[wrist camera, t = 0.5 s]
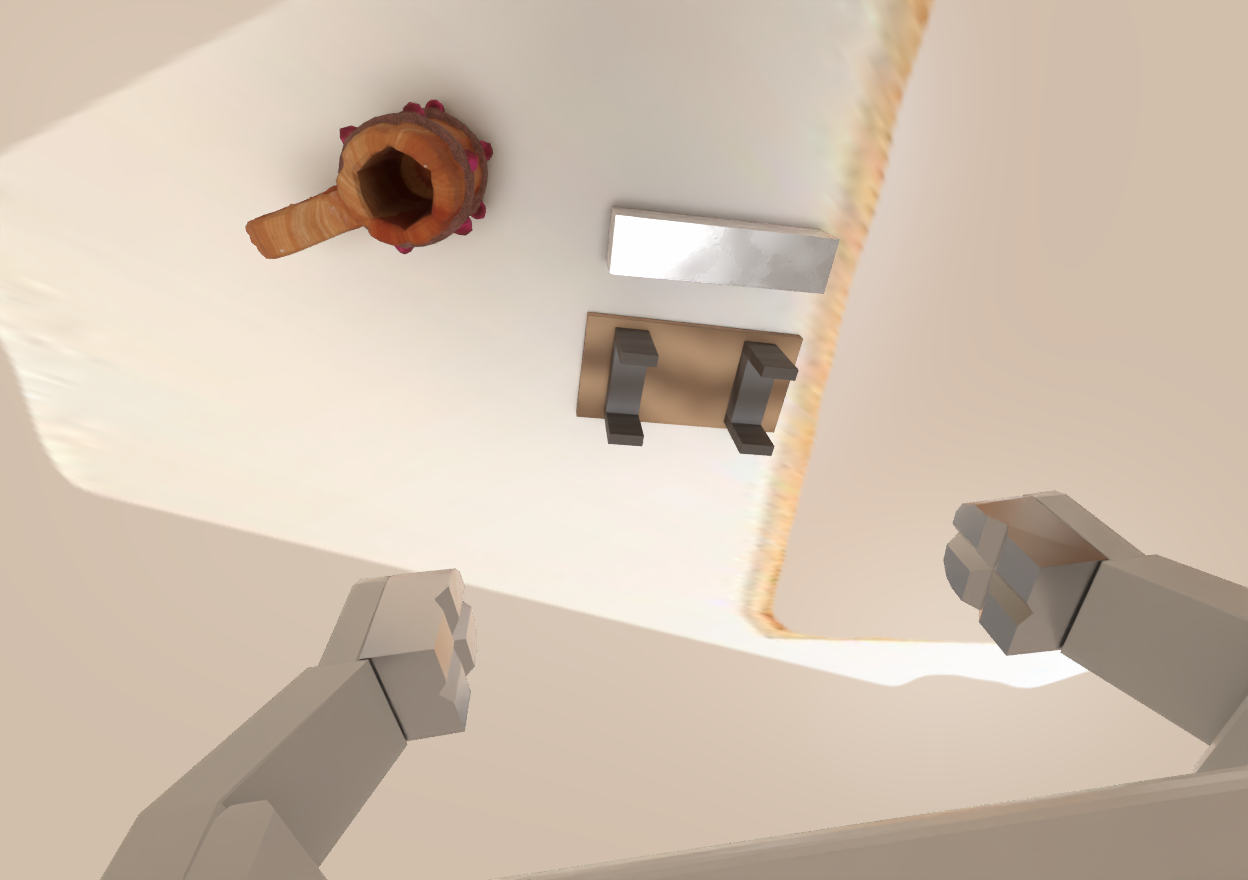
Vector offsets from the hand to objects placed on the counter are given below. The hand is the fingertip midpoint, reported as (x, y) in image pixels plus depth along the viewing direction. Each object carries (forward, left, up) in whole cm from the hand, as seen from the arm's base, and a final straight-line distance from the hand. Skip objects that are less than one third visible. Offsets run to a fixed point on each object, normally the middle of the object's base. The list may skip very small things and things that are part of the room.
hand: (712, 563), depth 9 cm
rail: (+3, +11, -43) cm, 45 cm away
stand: (+15, +11, -43) cm, 47 cm away
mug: (+1, -14, -43) cm, 45 cm away
